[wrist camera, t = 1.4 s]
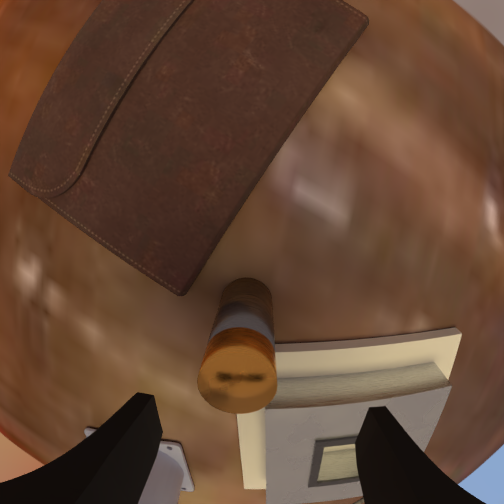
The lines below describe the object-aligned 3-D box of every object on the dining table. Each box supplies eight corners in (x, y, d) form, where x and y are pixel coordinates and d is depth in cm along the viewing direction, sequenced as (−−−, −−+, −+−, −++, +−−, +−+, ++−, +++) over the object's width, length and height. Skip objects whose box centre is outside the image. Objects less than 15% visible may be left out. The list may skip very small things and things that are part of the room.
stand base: (244, 481, 24) (244, 488, 23) (232, 344, 20) (231, 352, 19) (406, 463, 23) (409, 470, 22) (455, 327, 19) (462, 333, 18)
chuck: (266, 478, 22) (266, 506, 19) (265, 378, 19) (265, 411, 16) (396, 463, 22) (405, 487, 19) (433, 361, 19) (453, 387, 16)
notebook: (364, 29, 15) (374, 16, 13) (188, 289, 19) (181, 302, 17) (171, -57, 13) (164, -71, 11) (22, 171, 18) (4, 173, 16)
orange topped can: (223, 324, 19) (202, 412, 12) (220, 278, 18) (192, 353, 11) (272, 323, 19) (276, 413, 11) (271, 277, 18) (277, 353, 11)
